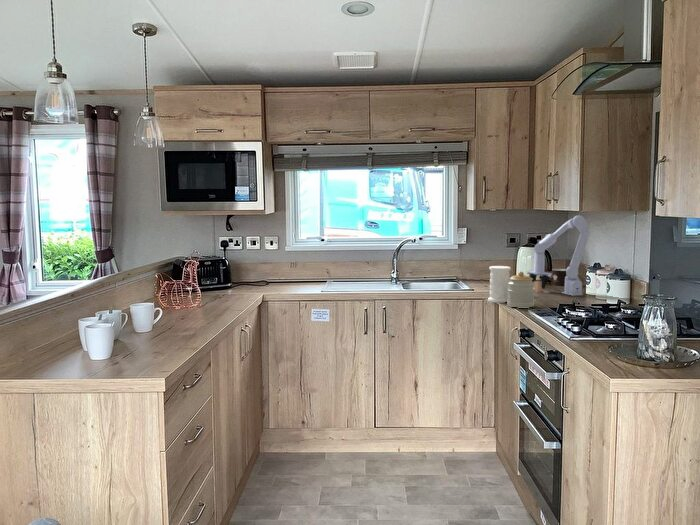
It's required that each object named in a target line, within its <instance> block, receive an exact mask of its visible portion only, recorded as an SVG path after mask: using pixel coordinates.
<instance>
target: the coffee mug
mask: <svg viewBox="0 0 700 525" xmlns="http://www.w3.org/2000/svg"><path fill="white" fill-rule="evenodd" d="M566 269H567V268H552V270H550V272H549V273H552V275H551V277H550V278H552V281H553V286H555V287H556V286H558V287H565V277H566V276H567V275H566Z"/></svg>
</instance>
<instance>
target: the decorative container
mask: <svg viewBox="0 0 700 525" xmlns="http://www.w3.org/2000/svg"><path fill="white" fill-rule="evenodd" d="M488 269H489V270H490V274H489V278H490V279H489V283H490V284H489V290H490V291H489V297H488V298H487V302H489V303H494V304H495V303H496V304H505V302H506V301H507V292H508V290H507V289H508V284H507V283H508V282H509V281H510V279H509V278H510V275H511V274H510V271H511V266H506V265H491V266H489V268H488Z"/></svg>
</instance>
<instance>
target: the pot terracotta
mask: <svg viewBox="0 0 700 525" xmlns="http://www.w3.org/2000/svg"><path fill="white" fill-rule="evenodd" d="M533 289H534V292H544V291H545V288H544V289H542V280H539V279H538V280H537V279H536V280H535V281H534V286H533Z"/></svg>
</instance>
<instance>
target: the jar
mask: <svg viewBox="0 0 700 525" xmlns="http://www.w3.org/2000/svg"><path fill="white" fill-rule="evenodd" d="M509 280H510V281H509V282H508V283H507V284H508V289H507V290H508V292H507V303H506V304H507V307H509V308H511V307H532V306H533V307H534V305H535V293H534V289H533V286H534V283H533V282H532V280H533V278H531V277H530V276H529V275H527V274H526V275H525V273H524V272H523V271H519V272H518V274H517V275H516V274H515V275H512V276H511V277H510V276H509Z"/></svg>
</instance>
